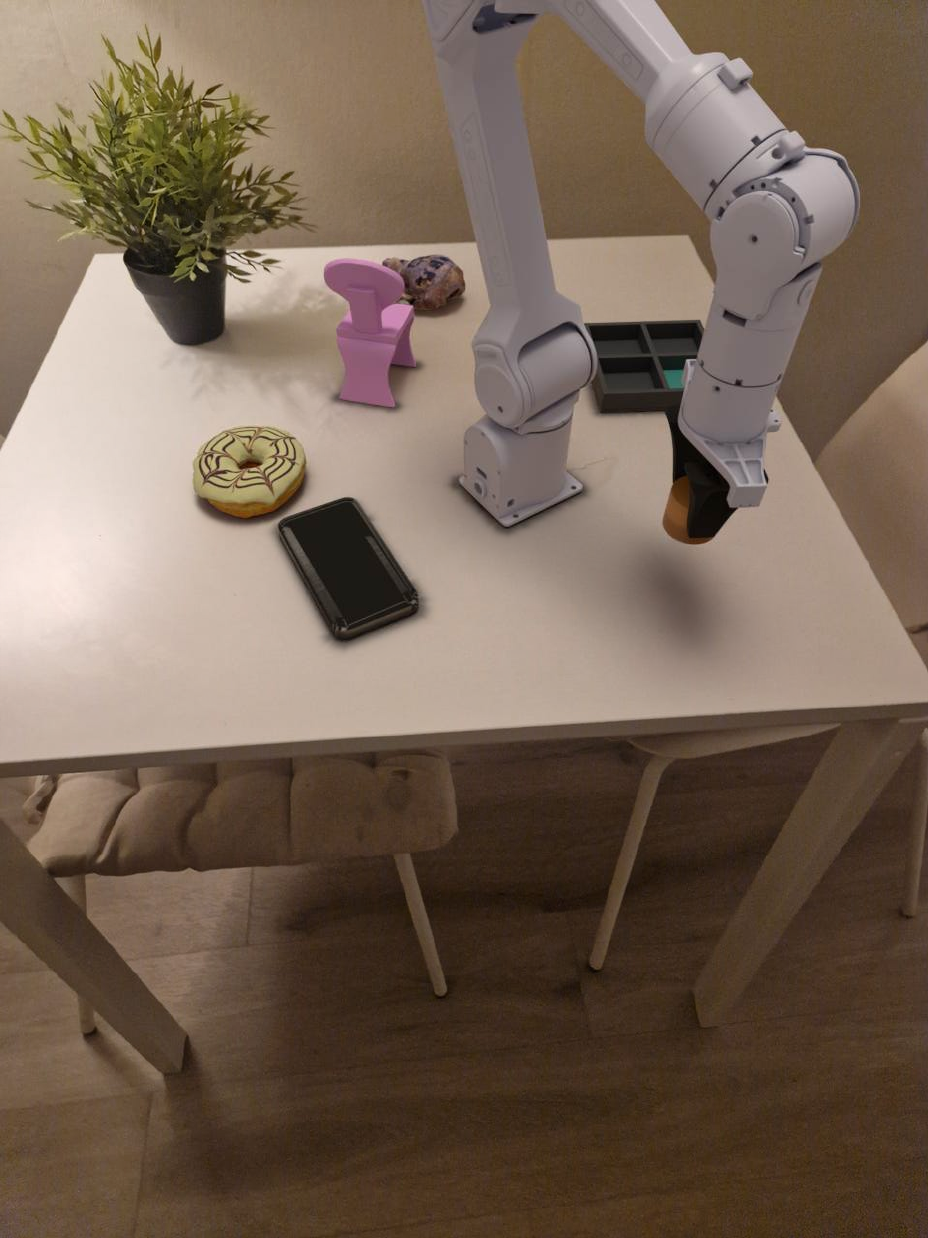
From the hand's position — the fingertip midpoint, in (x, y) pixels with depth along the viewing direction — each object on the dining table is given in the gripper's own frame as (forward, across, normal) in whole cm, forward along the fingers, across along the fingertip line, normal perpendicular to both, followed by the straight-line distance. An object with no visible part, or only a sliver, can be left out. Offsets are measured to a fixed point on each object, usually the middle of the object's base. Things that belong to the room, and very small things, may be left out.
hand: (693, 513), depth 63 cm
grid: (+8, +32, -5) cm, 33 cm away
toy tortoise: (+9, +50, +21) cm, 55 cm away
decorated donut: (+9, +15, +38) cm, 42 cm away
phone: (+8, +3, +28) cm, 30 cm away
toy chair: (+9, +32, +26) cm, 42 cm away
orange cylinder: (+1, 0, 0) cm, 1 cm away
